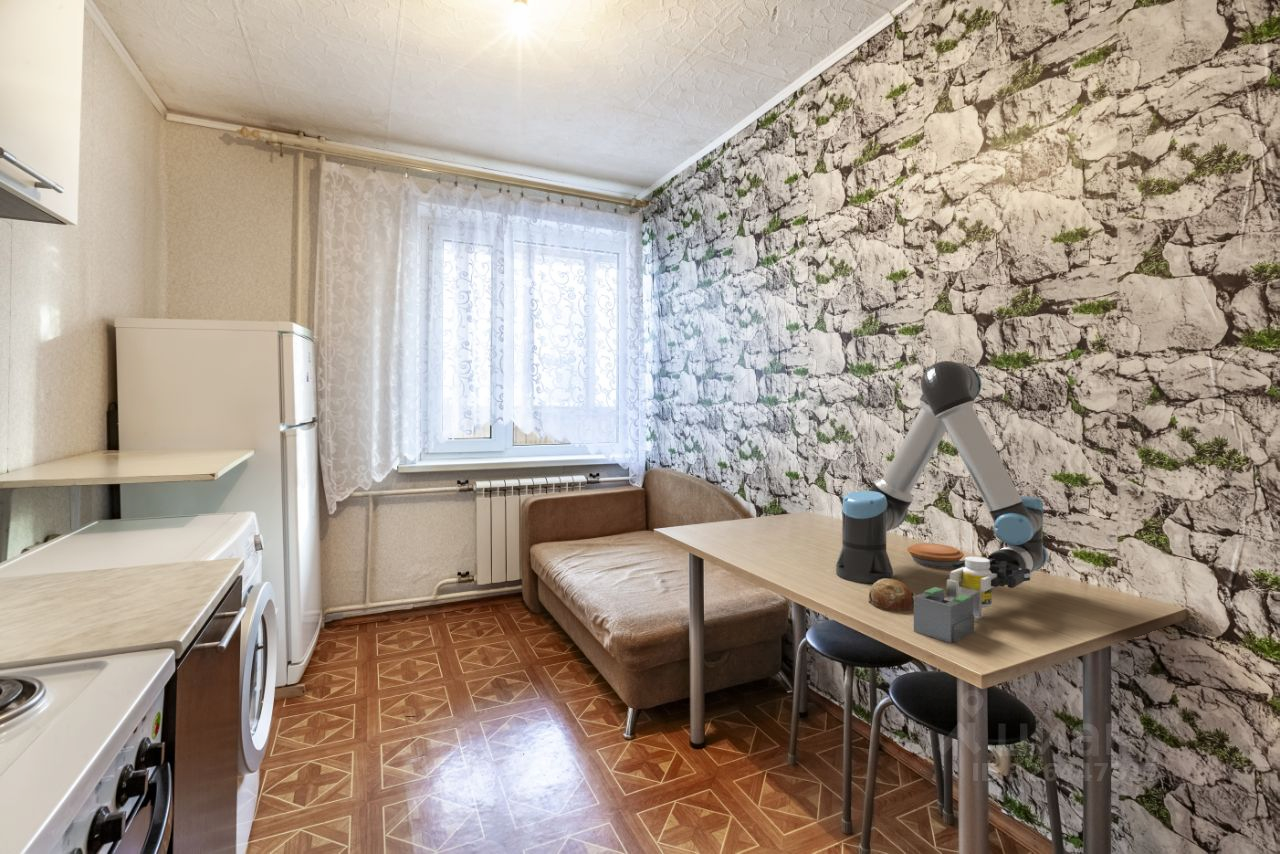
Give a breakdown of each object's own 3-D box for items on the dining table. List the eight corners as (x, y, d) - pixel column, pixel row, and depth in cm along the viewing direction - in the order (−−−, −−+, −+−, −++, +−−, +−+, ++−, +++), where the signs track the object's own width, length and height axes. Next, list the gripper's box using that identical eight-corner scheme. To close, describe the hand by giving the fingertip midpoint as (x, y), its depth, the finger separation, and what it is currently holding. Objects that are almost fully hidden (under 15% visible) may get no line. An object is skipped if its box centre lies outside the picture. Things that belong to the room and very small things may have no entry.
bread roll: (869, 611, 140) (856, 583, 140) (906, 594, 140) (893, 565, 139) (885, 626, 130) (871, 596, 130) (925, 608, 130) (911, 577, 130)
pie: (960, 573, 160) (960, 556, 159) (902, 564, 169) (902, 548, 169) (967, 561, 172) (967, 545, 172) (912, 553, 181) (912, 538, 181)
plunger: (957, 610, 127) (958, 571, 127) (981, 617, 123) (982, 576, 123) (935, 620, 121) (936, 579, 121) (960, 628, 117) (960, 585, 117)
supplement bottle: (989, 609, 122) (989, 564, 122) (959, 604, 126) (960, 559, 126) (993, 602, 127) (994, 558, 126) (964, 597, 131) (965, 554, 130)
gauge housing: (935, 620, 124) (936, 585, 124) (974, 631, 118) (974, 595, 117) (912, 630, 118) (913, 594, 118) (951, 643, 112) (952, 605, 112)
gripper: (1054, 588, 129) (1014, 610, 116) (968, 570, 145) (924, 587, 131) (1054, 556, 129) (1014, 574, 116) (968, 541, 144) (924, 556, 131)
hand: (966, 581), depth 123 cm, fingers closed on supplement bottle, 6 cm apart
